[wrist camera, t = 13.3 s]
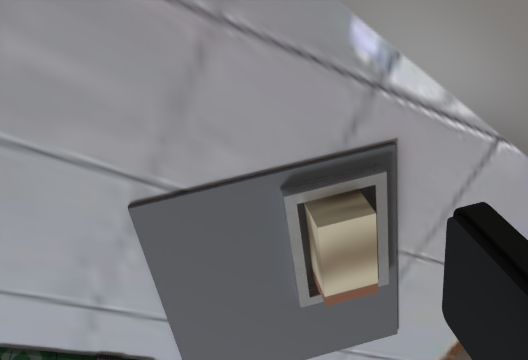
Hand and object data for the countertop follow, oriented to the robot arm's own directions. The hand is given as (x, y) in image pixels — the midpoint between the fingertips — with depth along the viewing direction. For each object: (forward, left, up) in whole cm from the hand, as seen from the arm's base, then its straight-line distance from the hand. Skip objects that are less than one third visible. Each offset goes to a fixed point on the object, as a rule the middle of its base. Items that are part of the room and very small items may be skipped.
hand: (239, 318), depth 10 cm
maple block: (+10, -22, -28) cm, 37 cm away
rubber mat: (+4, -26, -28) cm, 39 cm away
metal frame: (+10, -22, -28) cm, 37 cm away
